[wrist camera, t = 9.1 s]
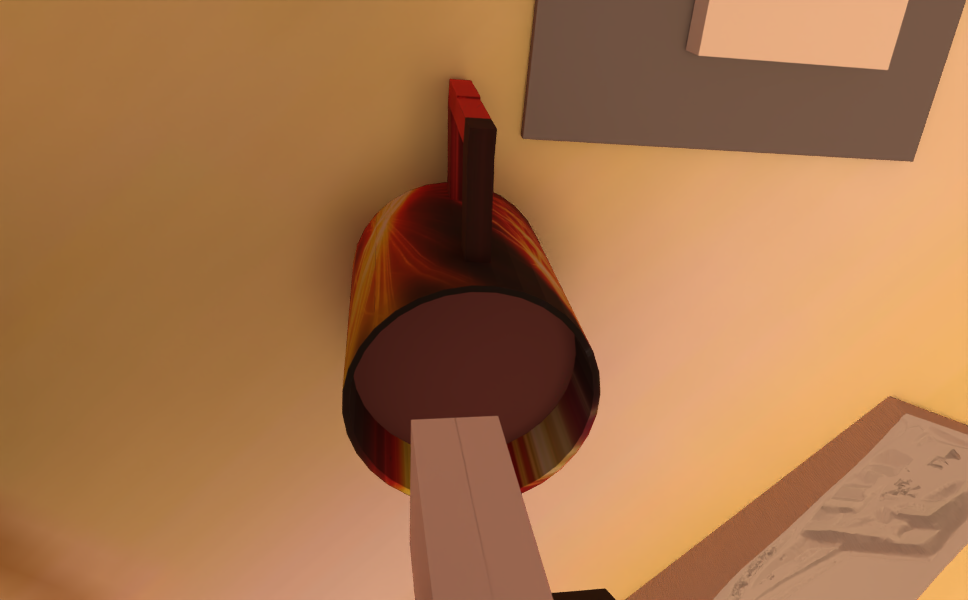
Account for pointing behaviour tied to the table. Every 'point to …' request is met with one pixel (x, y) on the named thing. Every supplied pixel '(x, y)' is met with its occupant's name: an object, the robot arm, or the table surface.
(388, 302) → the mug
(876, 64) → the tile
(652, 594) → the flat printed box
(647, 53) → the mat
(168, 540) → the table surface
